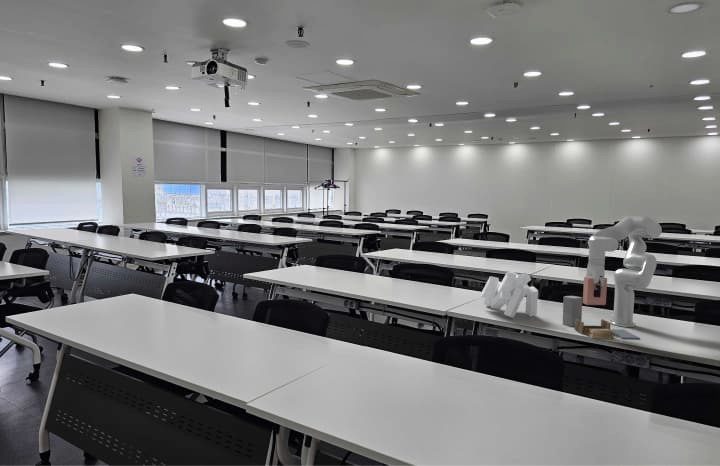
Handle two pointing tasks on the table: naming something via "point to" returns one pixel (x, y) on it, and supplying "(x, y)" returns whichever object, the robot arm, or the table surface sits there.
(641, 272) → the robot arm
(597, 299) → the pink block
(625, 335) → the slate mat
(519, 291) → the pile of blocks
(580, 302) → the skincare box
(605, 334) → the offcut stack
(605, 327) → the rack
